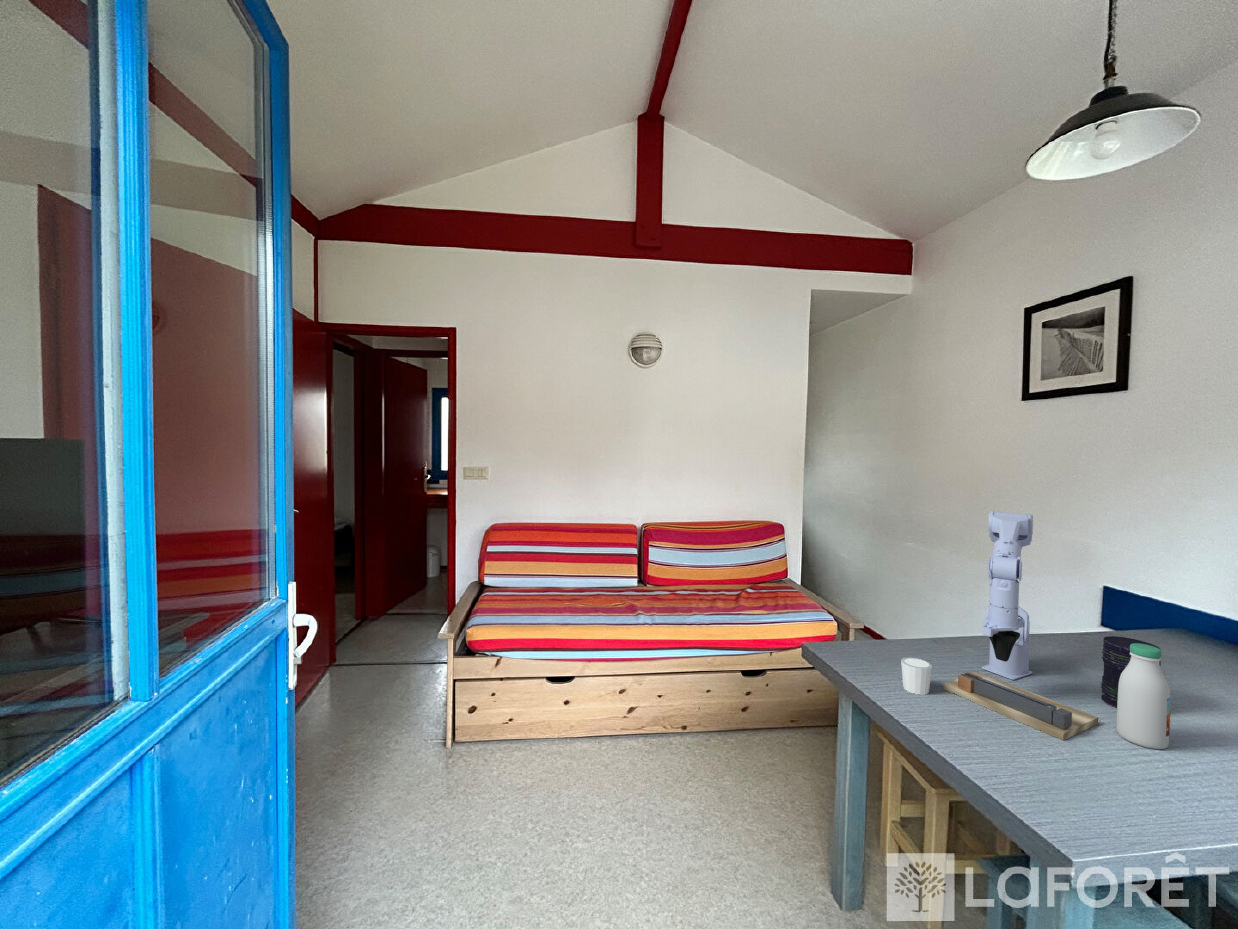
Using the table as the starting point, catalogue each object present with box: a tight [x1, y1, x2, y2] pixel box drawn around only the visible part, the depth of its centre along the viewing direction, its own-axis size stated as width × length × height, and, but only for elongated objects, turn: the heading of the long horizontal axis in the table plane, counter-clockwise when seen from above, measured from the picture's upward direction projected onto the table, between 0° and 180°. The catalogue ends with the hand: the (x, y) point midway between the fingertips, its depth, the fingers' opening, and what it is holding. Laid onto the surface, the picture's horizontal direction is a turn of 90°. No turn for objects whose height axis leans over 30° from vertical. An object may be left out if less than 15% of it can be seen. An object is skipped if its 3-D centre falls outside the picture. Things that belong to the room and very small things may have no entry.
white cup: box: [900, 657, 933, 696], centre depth 129 cm, size 7×7×7 cm
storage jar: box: [1100, 635, 1162, 709], centre depth 121 cm, size 10×10×15 cm
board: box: [943, 671, 1099, 741], centre depth 121 cm, size 15×25×2 cm, turn 25°
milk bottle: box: [1116, 643, 1171, 750], centre depth 107 cm, size 8×8×20 cm
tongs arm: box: [963, 671, 1057, 710], centre depth 120 cm, size 2×19×3 cm, turn 26°
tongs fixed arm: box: [957, 673, 1072, 729], centre depth 118 cm, size 4×21×3 cm, turn 25°
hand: (1002, 659), depth 125 cm, fingers closed
